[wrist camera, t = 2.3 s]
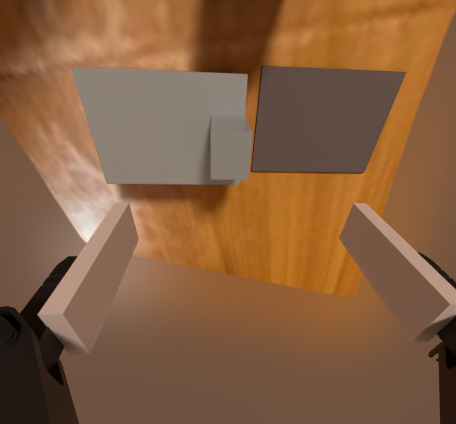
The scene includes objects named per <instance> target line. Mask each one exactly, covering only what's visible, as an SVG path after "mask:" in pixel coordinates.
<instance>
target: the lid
mask: <svg viewBox="0 0 456 424" xmlns="http://www.w3.org/2000/svg"><path fill="white" fill-rule="evenodd" d="M71 68H72V72H73V75H74V78H75V81H76V85H77V88H78V91H79V94H80V98H81V101H82V104H83V108H84V111H85V114H86V117H87V121H88V124H89V127H90V130H91V134H92V137H93V140H94V143H95V147H96V150H97V153H98V157H99V160H100V163H101V166H102V170H103V173H104V176H105V179H106V183H107V184H196V185H240V180H248V177H249V167H250V157H251V147H252V137H253V131H252V129H251V127H250V125H249V124H248V122H247V120H246V118H245V106H246V93H247V79H248V74H237V73H212V72H188V71H164V70H139V69H115V68H90V67H71Z"/></svg>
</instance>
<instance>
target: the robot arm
mask: <svg viewBox="0 0 456 424" xmlns="http://www.w3.org/2000/svg"><path fill="white" fill-rule="evenodd" d="M339 239H340V240H341V242H342V243H343V245H344V246H345V248H346V249H347V250H348V252H349V253H350V255H351V256H352V258H353V259H354V261H355V262H356V263H357V265H358V266H359V268H360V269H361V271H362V272H363V274H364V275H365V276H366V278H367V279H368V281H369V282H370V284H371V285H372V286H373V288H374V289H375V291H376V292H377V294H378V295H379V297H380V298H381V300H382V301H383V302H384V304H385V305H386V307H387V308H388V310H389V311H390V313H391V314H392V316H393V317H394V318H395V320H396V321H397V323H398V324H399V326H400V327H401V329H402V330H403V331H404V333H405V334H406V336H407V337H408V339H409V340H410V342H411V343H413V342H429V341H430V340H431V339H432V338H433V337H434V336H435V335H438V336H439V338H440V339H441V340H442V342H441V343H440V344H438V345H437V346H436V347H435V348H434V349H433V350H431V351H430V352H429V355H428V356H429V357H431V358H432V357H433V356H434V355H435V354H437V353H438V354H439V358H438V359H436V361H438V362H439V392H440V393H439V394H440V424H456V282H455V281H454V280H453V279H452V278H449V276H448V275H447V274H446V273H445V272H444V271H442V270H441V268H440V267H439V266H437V265H436V264H435V263H434V262H433V261H432V260H431V259H429V258H428V257H426V256H424V255H423V254H421V253H420V252H416V251H415V250H414V249H413V248H412V247H411V246H410V245H409V244H408V243H407V242H406V241H405V240H403V238H401V237H400V236H399V235H398V234H397V233H396V232H395V231H394V230H393V229H392V228H391V227H390V226H389V225H388V224H387V223H386V222H385V221H384V220H383V219H382V218H381V217H380V216H379V215H378V214H377V213H375V212H374V211H373V210H372V209H371V208H370V207H369V206H368V205H367V204H366V203H354V204H353V206H352V209H351V211H350V214H349V216H348V218H347V221H346V223H345V225H344V228H343V230H342V233H341V235H340V237H339ZM138 240H139V239H138V235H137V231H136V227H135V224H134V220H133V216H132V212H131V208H130V204H129V203H115V204H114V205H113V207H112V208H111V209H110V211H109V212H108V214H107V215H106V217H105V218H104V220H103V221H102V222H101V224H100V225H99V227H98V228H97V230H96V231H95V233H94V234H93V235H92V237H91V238H90V240H89V241H88V243H87V244H86V246H85V247H84V248H83V250H82V251H81V253H80V254H79V256H68V257H67V258H66V259H64V260H63V261H62V262H61V263H59V264H58V265H57V266H56V267H55V268H54V270H53V271H52V272H51V274H50V275H49V277H48V278H47V279H46V280H45V281H44V283H43V286H41V287H40V288H39V289H38V291H37V292H36V293H35V294H34V296H33V297H32V298H31V300H30V301H29V302H28V304H27V305H26V306H25V308H24V309H23V310H22V311H21V313H20V314H19V313H18V311H17V310H16V309H15V308H12V307H9V306H6V307H0V424H79V422H78V418H77V415H76V411H75V408H74V404H73V401H72V397H71V394H70V390H69V387H68V384H67V380H66V376H65V373H64V370H63V366H62V363H61V361H60V359H59V356H60V355H61V353H62V351H63V349H64V348H65V349H66V351H67V352H68V353H69V354H70V355H74V354H90V353H91V351H92V348H93V346H94V344H95V342H96V339H97V337H98V334H99V332H100V330H101V327H102V325H103V323H104V320H105V318H106V316H107V313H108V311H109V309H110V306H111V304H112V301H113V299H114V297H115V294H116V292H117V290H118V287H119V285H120V282H121V280H122V278H123V275H124V273H125V270H126V268H127V266H128V263H129V261H130V259H131V256H132V254H133V252H134V249H135V247H136V245H137V242H138Z"/></svg>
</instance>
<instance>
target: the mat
mask: <svg viewBox="0 0 456 424" xmlns="http://www.w3.org/2000/svg"><path fill="white" fill-rule="evenodd" d="M405 74H406V72H391V71H368V70H344V69H321V68H298V67H275V66H262V72H261V82H260V91H259V101H258V111H257V120H256V130H255V140H254V149H253V159H252V168H251V171H277V172H349V173H364V172H365V170H366V167H367V165H368V162H369V160H370V158H371V155H372V153H373V150H374V148H375V146H376V143H377V141H378V139H379V136H380V134H381V131H382V129H383V127H384V124H385V122H386V119H387V117H388V115H389V112H390V110H391V107H392V105H393V103H394V100H395V98H396V95H397V93H398V91H399V88H400V86H401V84H402V81H403V79H404V76H405Z"/></svg>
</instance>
